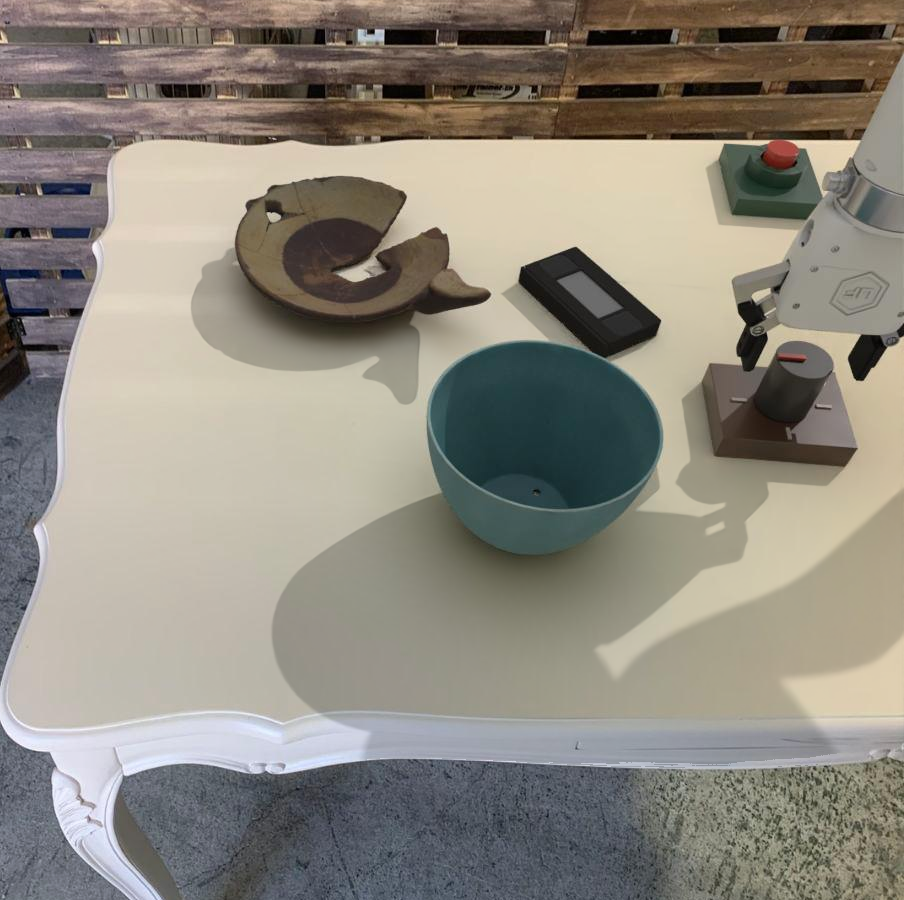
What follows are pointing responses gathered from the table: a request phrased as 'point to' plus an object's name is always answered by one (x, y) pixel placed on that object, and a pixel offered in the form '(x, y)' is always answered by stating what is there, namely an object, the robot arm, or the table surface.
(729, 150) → the button box
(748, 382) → the panel
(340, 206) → the broken bowl
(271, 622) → the table surface
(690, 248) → the table surface
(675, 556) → the table surface
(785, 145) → the button
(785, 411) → the knob
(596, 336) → the vhs tape
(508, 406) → the plant pot
